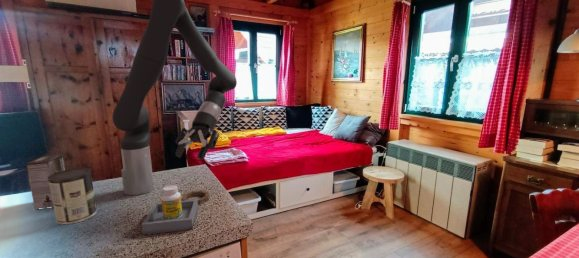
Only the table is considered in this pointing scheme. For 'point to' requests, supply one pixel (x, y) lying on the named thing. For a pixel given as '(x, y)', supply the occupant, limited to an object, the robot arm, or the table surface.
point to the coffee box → (43, 178)
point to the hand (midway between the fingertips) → (188, 157)
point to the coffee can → (72, 195)
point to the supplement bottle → (171, 203)
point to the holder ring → (197, 193)
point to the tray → (159, 225)
